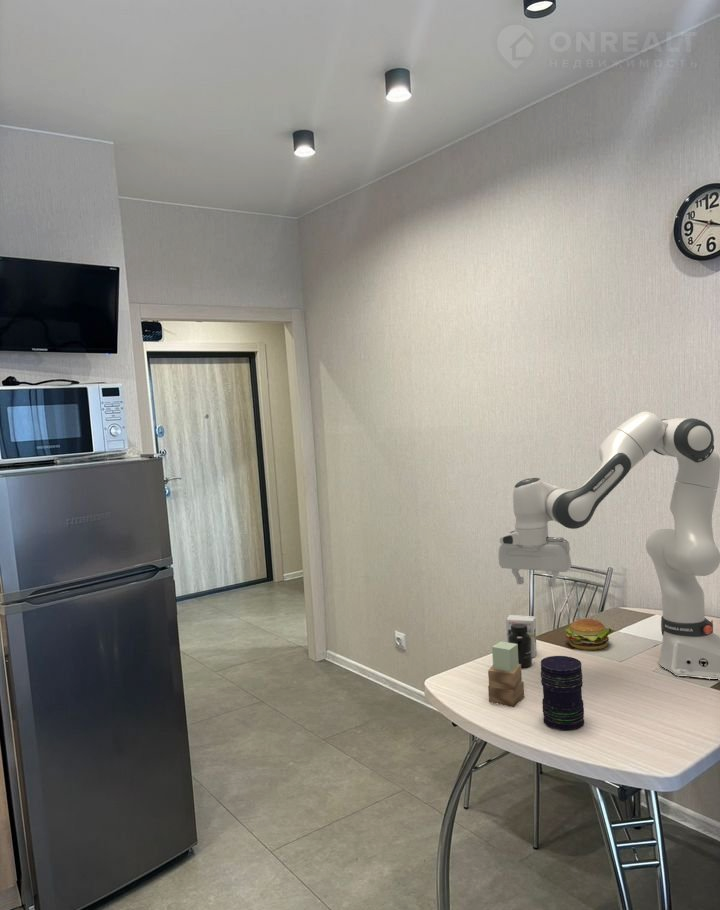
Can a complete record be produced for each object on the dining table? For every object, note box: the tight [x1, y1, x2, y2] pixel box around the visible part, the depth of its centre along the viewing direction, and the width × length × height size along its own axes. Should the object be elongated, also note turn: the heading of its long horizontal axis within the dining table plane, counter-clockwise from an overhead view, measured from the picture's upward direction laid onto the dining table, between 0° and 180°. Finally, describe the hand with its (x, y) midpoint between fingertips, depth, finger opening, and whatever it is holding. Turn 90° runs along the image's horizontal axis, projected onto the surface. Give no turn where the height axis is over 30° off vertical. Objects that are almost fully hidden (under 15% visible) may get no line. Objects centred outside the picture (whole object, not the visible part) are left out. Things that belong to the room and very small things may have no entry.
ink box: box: [505, 614, 538, 658], centre depth 219 cm, size 9×5×12 cm, turn 68°
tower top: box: [487, 664, 523, 690], centre depth 187 cm, size 7×7×4 cm
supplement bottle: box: [508, 623, 533, 669], centre depth 211 cm, size 7×7×12 cm
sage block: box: [491, 640, 519, 672], centre depth 186 cm, size 5×5×6 cm
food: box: [564, 618, 612, 651], centre depth 224 cm, size 14×14×8 cm
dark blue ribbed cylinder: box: [540, 655, 585, 732], centre depth 172 cm, size 10×10×15 cm
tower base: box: [487, 681, 525, 708], centre depth 187 cm, size 7×7×4 cm
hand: (536, 585), depth 196 cm, fingers open, 8 cm apart
